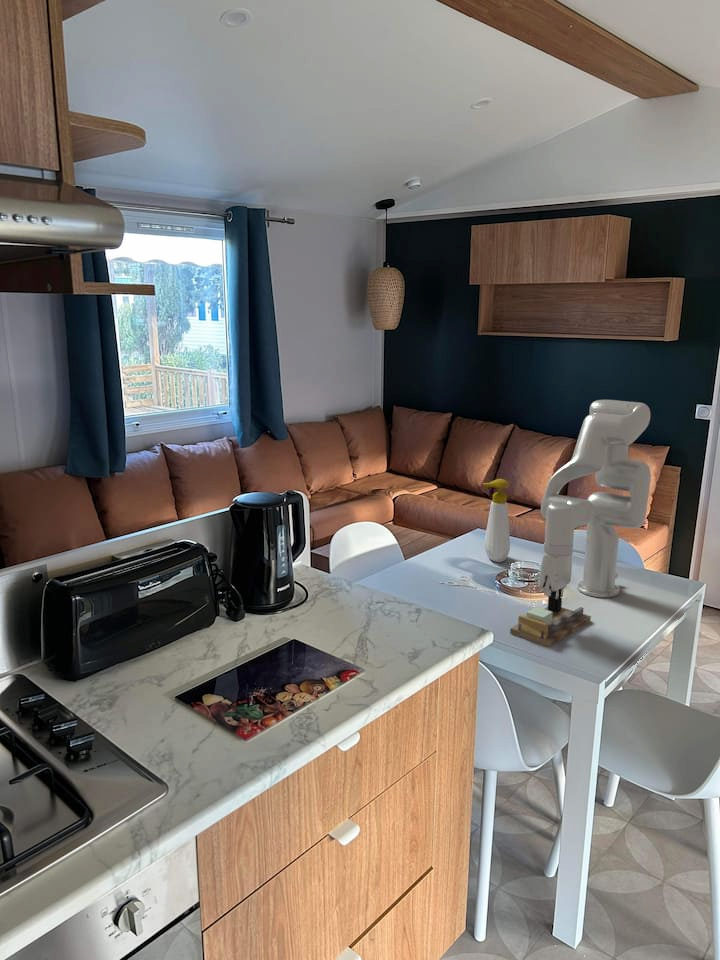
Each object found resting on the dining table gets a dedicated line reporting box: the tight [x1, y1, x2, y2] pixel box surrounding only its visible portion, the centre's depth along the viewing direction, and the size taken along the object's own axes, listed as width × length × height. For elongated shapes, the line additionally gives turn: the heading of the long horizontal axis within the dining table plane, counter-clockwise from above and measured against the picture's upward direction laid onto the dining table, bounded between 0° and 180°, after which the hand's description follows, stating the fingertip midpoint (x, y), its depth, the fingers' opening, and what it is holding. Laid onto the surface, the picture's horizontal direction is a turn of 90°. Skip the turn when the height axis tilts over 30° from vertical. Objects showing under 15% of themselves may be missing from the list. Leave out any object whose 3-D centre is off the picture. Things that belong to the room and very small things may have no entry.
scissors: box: [438, 575, 502, 597], centre depth 235 cm, size 11×1×20 cm
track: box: [509, 601, 592, 648], centre depth 205 cm, size 23×12×6 cm, turn 137°
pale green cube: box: [526, 606, 553, 626], centre depth 200 cm, size 5×5×5 cm
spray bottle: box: [481, 478, 511, 563], centre depth 257 cm, size 13×10×29 cm
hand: (554, 610), depth 206 cm, fingers closed
